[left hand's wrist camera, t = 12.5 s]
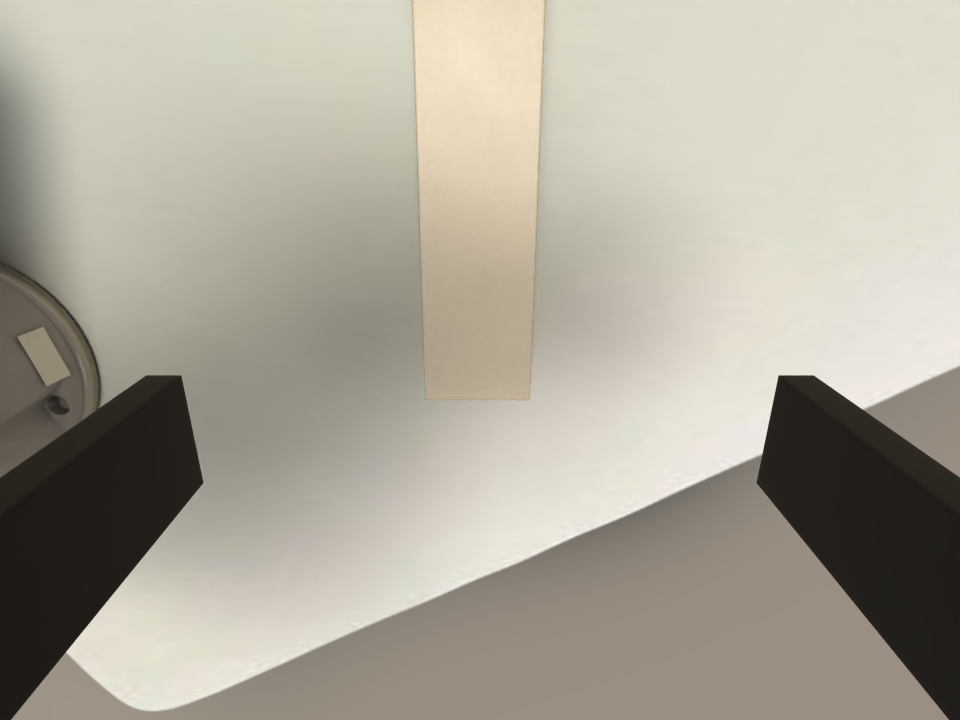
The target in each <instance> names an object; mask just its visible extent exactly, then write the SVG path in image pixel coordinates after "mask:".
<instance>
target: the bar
mask: <svg viewBox="0 0 960 720" xmlns="http://www.w3.org/2000/svg"><path fill="white" fill-rule="evenodd" d="M412 21H413V50H414V79H415V109H416V138H417V167H418V197H419V226H420V256H421V285H422V314H423V344H424V373H425V398H426V400H529V399H530V384H531V358H532V333H533V307H534V281H535V256H536V230H537V205H538V179H539V153H540V128H541V102H542V77H543V51H544V25H545V0H412Z"/></svg>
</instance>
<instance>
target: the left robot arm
mask: <svg viewBox="0 0 960 720" xmlns="http://www.w3.org/2000/svg"><path fill="white" fill-rule="evenodd" d="M98 396H99V385H98V376H97V371H96V367H95V363H94V360H93V357H92V354H91V351H90V349H89V347H88V345H87V343H86V341H85V339H84V337H83V335H82V334H81V332H80V330H79V329H78V327H77V326H76V324H75V323H74V321H73V320H72V319H71V318H70V316H69V315H68V314H67V313H66V311H65V310H64V309H63V308H62V307H61V306H60V305H59V304H58V303H57V302H56V301H55V300H54V299H53V298H52V297H51V296H50V295H49V294H48V293H46V292H45V291H44V290H43V289H41V288H40V287H39V286H38V285H36V284H35V283H34V282H32V281H31V280H29V279H28V278H26V277H25V276H23V275H21V274H19V273H18V272H16V271H14V270H12V269H10V268H8V267H6V266H4V265H2V264H0V720H11V719H12V718H13V716H14V715H15V714H16V713H17V712H18V710H19V709H20V708H21V707H22V705H23V704H24V703H25V702H26V700H27V699H28V698H29V697H30V696H31V694H32V693H33V692H34V691H35V689H36V688H37V687H38V686H39V684H40V683H41V682H42V681H43V679H44V678H45V677H46V676H47V675H48V673H49V672H50V671H51V670H52V668H53V667H54V666H55V665H56V663H57V662H58V661H59V660H60V659H61V657H62V656H63V655H64V654H65V652H66V651H67V650H68V649H69V648H70V646H71V645H72V644H73V643H74V641H75V640H76V639H77V638H78V636H79V635H80V634H81V633H82V632H83V630H84V629H85V628H86V627H87V625H88V624H89V623H90V622H91V620H92V619H93V618H94V617H95V616H96V614H97V613H98V612H99V611H100V609H101V608H102V607H103V606H104V604H105V603H106V602H107V601H108V600H109V598H110V597H111V596H112V595H113V593H114V592H115V591H116V590H117V588H118V587H119V586H120V585H121V584H122V582H123V581H124V580H125V579H126V577H127V576H128V575H129V574H130V572H131V571H132V570H133V569H134V568H135V566H136V565H137V564H138V563H139V561H140V560H141V559H142V558H143V556H144V555H145V554H146V553H147V552H148V550H149V549H150V548H151V547H152V545H153V544H154V543H155V542H156V540H157V539H158V538H159V537H160V536H161V534H162V533H163V532H164V531H165V529H166V528H167V527H168V526H169V524H170V523H171V522H172V521H173V520H174V518H175V517H176V516H177V515H178V513H179V512H180V511H181V510H182V508H183V507H184V506H185V505H186V504H187V502H188V501H189V500H190V499H191V497H192V496H193V495H194V494H195V492H196V491H197V490H198V489H199V488H200V486H201V485H202V484H203V479H202V474H201V469H200V464H199V459H198V455H197V450H196V445H195V440H194V435H193V430H192V425H191V421H190V416H189V411H188V406H187V401H186V396H185V391H184V387H183V382H182V377H181V376H145V377H144V378H142V379H141V380H139V381H138V382H136V383H135V384H134V385H132V386H131V387H129V388H128V389H126V390H125V391H124V392H122V393H121V394H119V395H118V396H116V397H115V398H114V399H112V400H111V401H109V402H108V403H106V404H105V405H103V406H102V407H101V408H99V409H98V410H96V409H97V405H98ZM757 484H758V485H759V486H760V488H761V489H762V490H763V491H764V492H765V494H766V495H767V496H768V497H769V499H770V500H771V501H772V502H773V504H774V505H775V506H776V507H777V508H778V510H779V511H780V512H781V513H782V515H783V516H784V517H785V518H786V520H787V521H788V522H789V523H790V524H791V526H792V527H793V528H794V529H795V531H796V532H797V533H798V534H799V536H800V537H801V538H802V539H803V540H804V542H805V543H806V544H807V545H808V547H809V548H810V549H811V550H812V552H813V553H814V554H815V555H816V556H817V558H818V559H819V560H820V561H821V563H822V564H823V565H824V566H825V568H826V569H827V570H828V571H829V572H830V574H831V575H832V576H833V577H834V579H835V580H836V581H837V582H838V584H839V585H840V586H841V587H842V588H843V590H844V591H845V592H846V593H847V595H848V596H849V597H850V598H851V600H852V601H853V602H854V603H855V604H856V606H857V607H858V608H859V609H860V611H861V612H862V613H863V614H864V616H865V617H866V618H867V619H868V620H869V622H870V623H871V624H872V625H873V627H874V628H875V629H876V630H877V631H878V633H879V634H880V635H881V636H882V638H883V639H884V640H885V641H886V643H887V644H888V645H889V646H890V648H891V649H892V650H893V651H894V652H895V654H896V655H897V656H898V657H899V659H900V660H901V661H902V662H903V663H904V665H905V666H906V667H907V668H908V670H909V671H910V672H911V673H912V675H913V676H914V677H915V678H916V680H917V681H918V682H919V683H920V684H921V686H922V687H923V688H924V689H925V691H926V692H927V693H928V694H929V696H930V697H931V698H932V699H933V700H934V702H935V703H936V704H937V705H938V707H939V708H940V709H941V710H942V712H943V713H944V714H945V715H946V716H947V718H948V719H949V720H960V478H959V477H958V476H957V475H955V474H954V473H952V472H951V471H950V470H948V469H947V468H945V467H944V466H942V465H941V464H939V463H938V462H937V461H935V460H934V459H932V458H931V457H929V456H928V455H927V454H925V453H924V452H922V451H921V450H919V449H918V448H917V447H915V446H914V445H912V444H911V443H909V442H908V441H907V440H905V439H904V438H902V437H901V436H899V435H898V434H897V433H895V432H894V431H892V430H891V429H889V428H888V427H887V426H885V425H884V424H882V423H881V422H879V421H878V420H876V419H875V418H874V417H872V416H871V415H869V414H868V413H867V412H865V411H864V410H862V409H861V408H859V407H858V406H857V405H855V404H854V403H852V402H851V401H849V400H848V399H846V398H845V397H844V396H842V395H841V394H839V393H838V392H836V391H835V390H834V389H832V388H831V387H829V386H828V385H826V384H825V383H824V382H822V381H821V380H819V379H818V378H816V377H815V376H779V377H778V382H777V387H776V391H775V396H774V401H773V406H772V411H771V416H770V421H769V425H768V430H767V435H766V440H765V445H764V450H763V455H762V459H761V464H760V469H759V474H758V479H757Z"/></svg>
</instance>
